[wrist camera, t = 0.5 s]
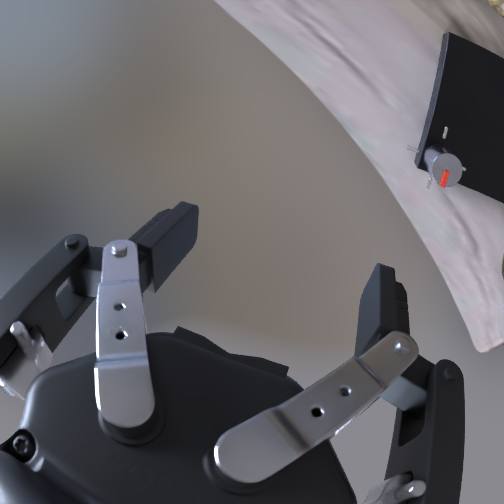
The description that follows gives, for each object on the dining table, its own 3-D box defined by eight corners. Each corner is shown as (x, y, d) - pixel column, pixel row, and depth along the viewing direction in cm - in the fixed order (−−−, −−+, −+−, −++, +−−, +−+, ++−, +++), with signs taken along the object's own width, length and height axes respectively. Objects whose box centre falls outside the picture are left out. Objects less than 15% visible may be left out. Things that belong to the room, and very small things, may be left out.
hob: (428, 28, 23) (433, 25, 21) (551, 93, 19) (561, 96, 17) (395, 171, 34) (398, 178, 32) (511, 217, 31) (518, 226, 29)
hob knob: (428, 138, 29) (437, 149, 25) (455, 149, 28) (467, 161, 24) (419, 167, 31) (427, 181, 27) (446, 177, 30) (456, 192, 26)
